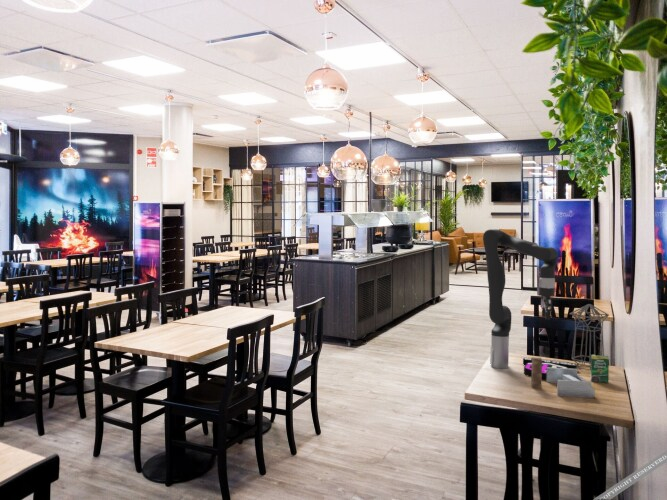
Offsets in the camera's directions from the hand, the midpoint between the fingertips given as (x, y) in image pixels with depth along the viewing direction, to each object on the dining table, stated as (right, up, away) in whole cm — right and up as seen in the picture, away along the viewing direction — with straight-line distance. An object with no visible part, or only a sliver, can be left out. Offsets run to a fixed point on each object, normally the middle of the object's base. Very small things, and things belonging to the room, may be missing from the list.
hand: (546, 318), depth 270 cm
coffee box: (+24, -31, -7) cm, 39 cm away
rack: (+2, -31, -19) cm, 37 cm away
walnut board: (-11, -31, -17) cm, 37 cm away
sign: (+4, -31, +9) cm, 32 cm away
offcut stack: (+3, -31, -21) cm, 38 cm away
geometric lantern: (+30, -30, +19) cm, 46 cm away
